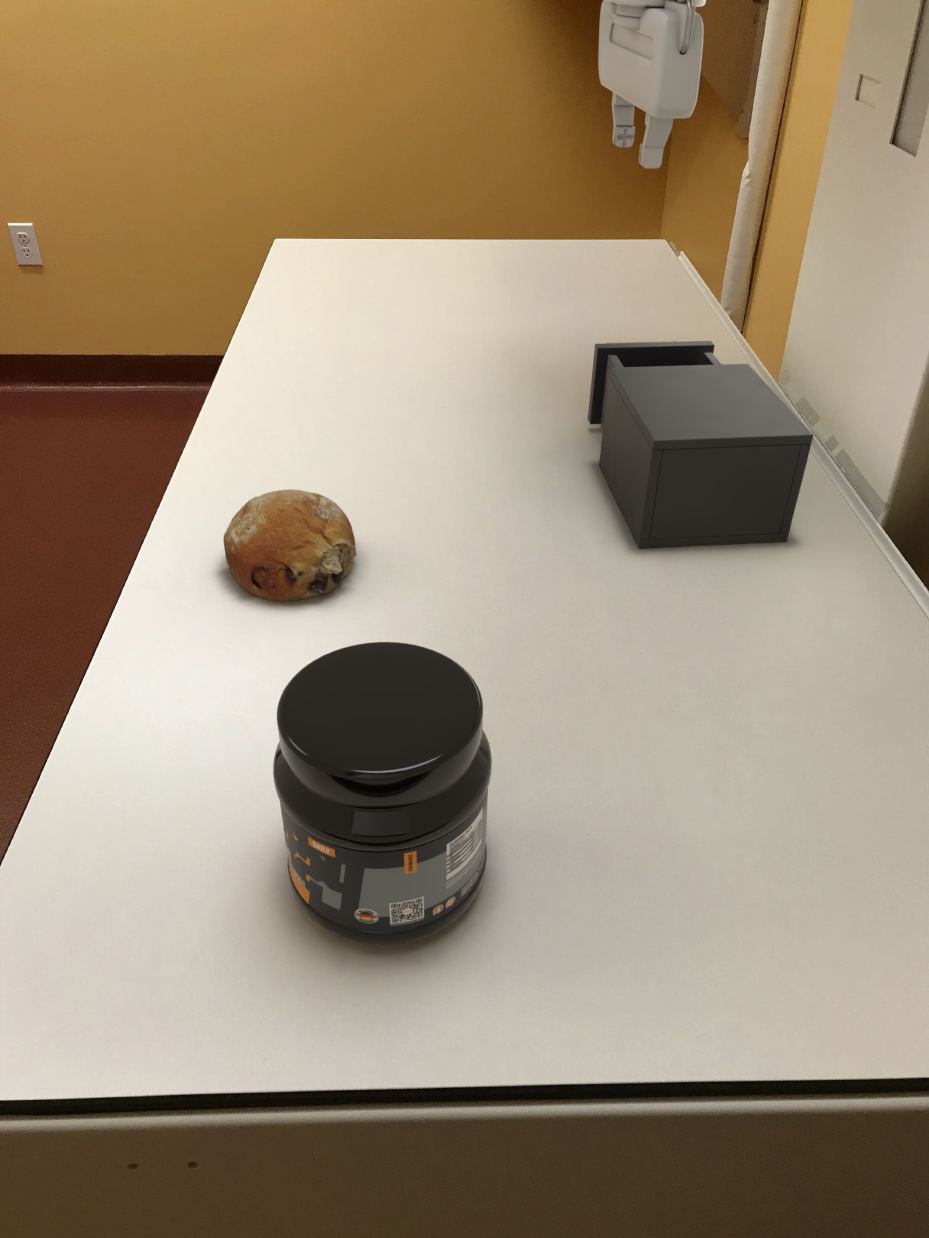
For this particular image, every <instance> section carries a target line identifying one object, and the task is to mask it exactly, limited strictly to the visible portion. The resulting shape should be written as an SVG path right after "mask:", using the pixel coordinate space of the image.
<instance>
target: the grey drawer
mask: <svg viewBox="0 0 929 1238" xmlns="http://www.w3.org/2000/svg"><path fill="white" fill-rule="evenodd" d="M714 352H715V344H714V343H713V341H712V340H691V341H690V340H688V341H676V340H649V341H646V340H645V341H610V342H609V341H607V342H606V343H595V344H594V349H593V359H592V369H591V370H592V371H591V382H590V390H589V391H590V392H589V402H588V412H587V421H588V423H589V425H600V429H601V431H602V432H603V425H604V416H605V407H606V397H607V388H608V379H609V370H610V368H614V367H651V366H687V365H723V364H722V363H721V361H720V360H719V359H718V358H717V357H716V356H715V354H714Z"/></svg>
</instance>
